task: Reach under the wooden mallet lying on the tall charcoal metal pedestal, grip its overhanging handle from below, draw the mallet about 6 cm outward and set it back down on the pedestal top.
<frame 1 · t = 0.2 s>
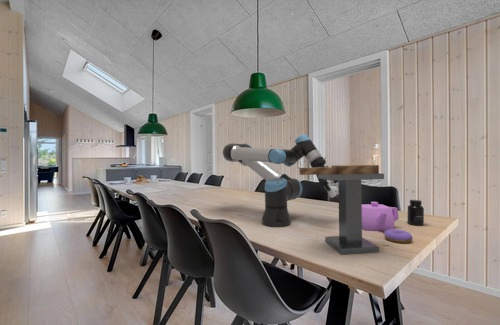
hand: (339, 194, 123), 16 cm above the table, fingers open, 13 cm apart
supplement bottle: (415, 224, 125), on the table
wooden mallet: (354, 173, 95), point 28 cm above the table, touching pedestal
pedestal: (350, 246, 95), on the table
donut: (398, 240, 102), on the table
teakettle: (374, 228, 120), on the table
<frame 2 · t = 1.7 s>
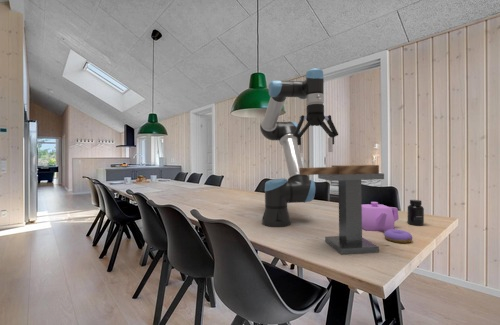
hand: (316, 152, 112), 37 cm above the table, fingers open, 13 cm apart
nothing on the table moved.
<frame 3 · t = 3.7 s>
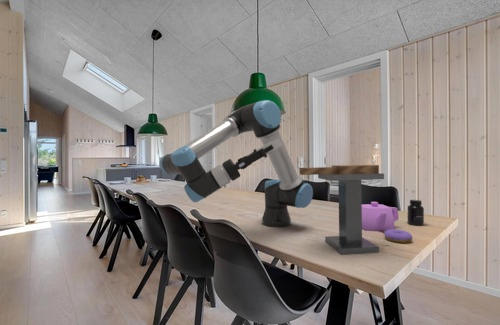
hand: (276, 143, 92), 40 cm above the table, fingers open, 13 cm apart
nothing on the table moved.
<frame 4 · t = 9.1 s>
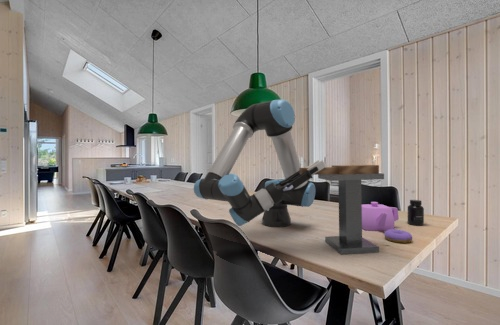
hand: (321, 163, 94), 32 cm above the table, fingers closed on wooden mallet, 3 cm apart
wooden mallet: (354, 173, 95), point 28 cm above the table, touching gripper, pedestal
everything else where it was.
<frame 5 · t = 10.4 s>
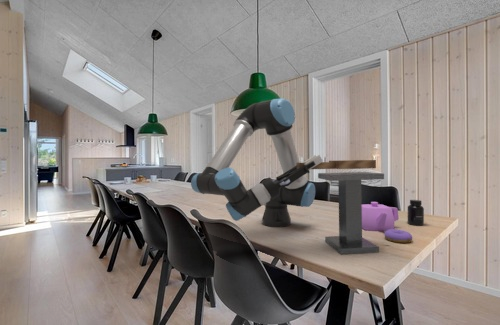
hand: (318, 158, 94), 34 cm above the table, fingers closed on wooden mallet, 3 cm apart
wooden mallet: (351, 168, 95), point 30 cm above the table, touching gripper
everything else where it was.
when the fingers open (33 cm above the table, at t = 11.9 s): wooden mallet stays where it is, resting on pedestal.
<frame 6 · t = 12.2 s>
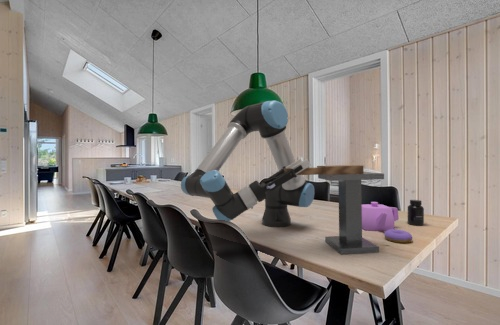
hand: (305, 161, 93), 33 cm above the table, fingers open, 7 cm apart
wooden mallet: (339, 173, 94), point 28 cm above the table, touching pedestal
everything else where it was.
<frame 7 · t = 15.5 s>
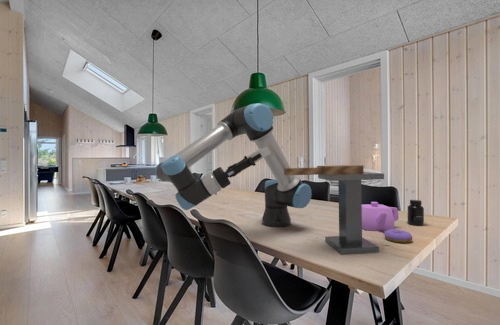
hand: (265, 150, 93), 37 cm above the table, fingers open, 13 cm apart
nothing on the table moved.
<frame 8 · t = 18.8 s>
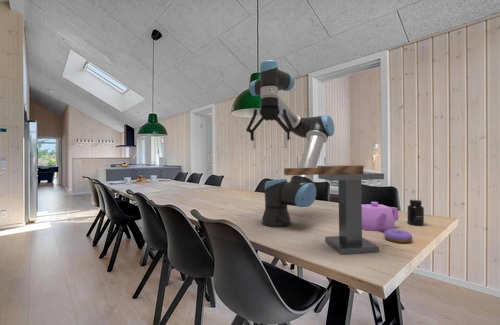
hand: (270, 148, 107), 39 cm above the table, fingers open, 13 cm apart
nothing on the table moved.
at the end: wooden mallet 2.4 cm from the target spot on the pedestal, point 28.0 cm above the pedestal's base; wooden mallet tilted 0°; the gripper is holding nothing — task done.
